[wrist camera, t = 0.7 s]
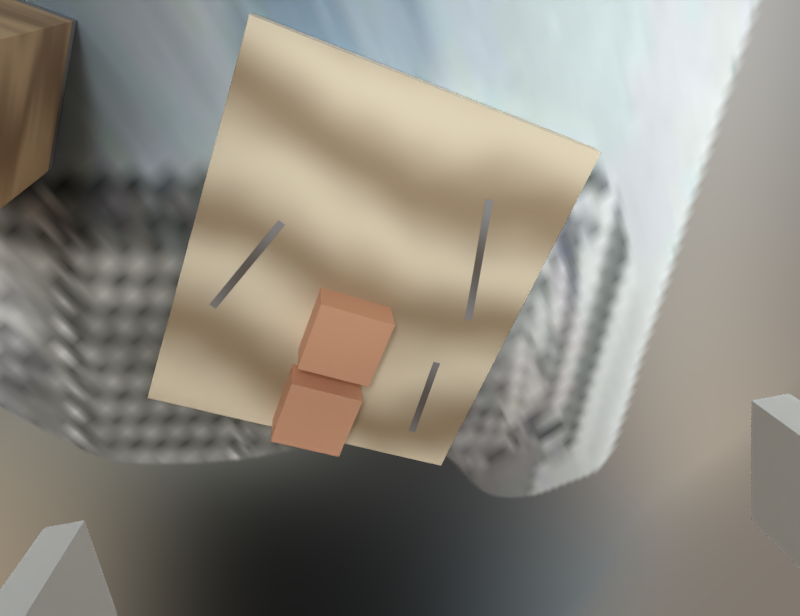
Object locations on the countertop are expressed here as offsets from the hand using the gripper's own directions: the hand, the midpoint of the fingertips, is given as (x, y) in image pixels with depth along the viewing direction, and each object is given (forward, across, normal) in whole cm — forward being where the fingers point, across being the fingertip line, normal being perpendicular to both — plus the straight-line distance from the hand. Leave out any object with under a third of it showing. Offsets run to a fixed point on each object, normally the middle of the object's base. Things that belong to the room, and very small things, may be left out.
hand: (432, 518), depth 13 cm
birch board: (+24, -1, -1) cm, 24 cm away
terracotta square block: (+24, -2, -4) cm, 24 cm away
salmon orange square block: (+24, -5, -8) cm, 26 cm away
